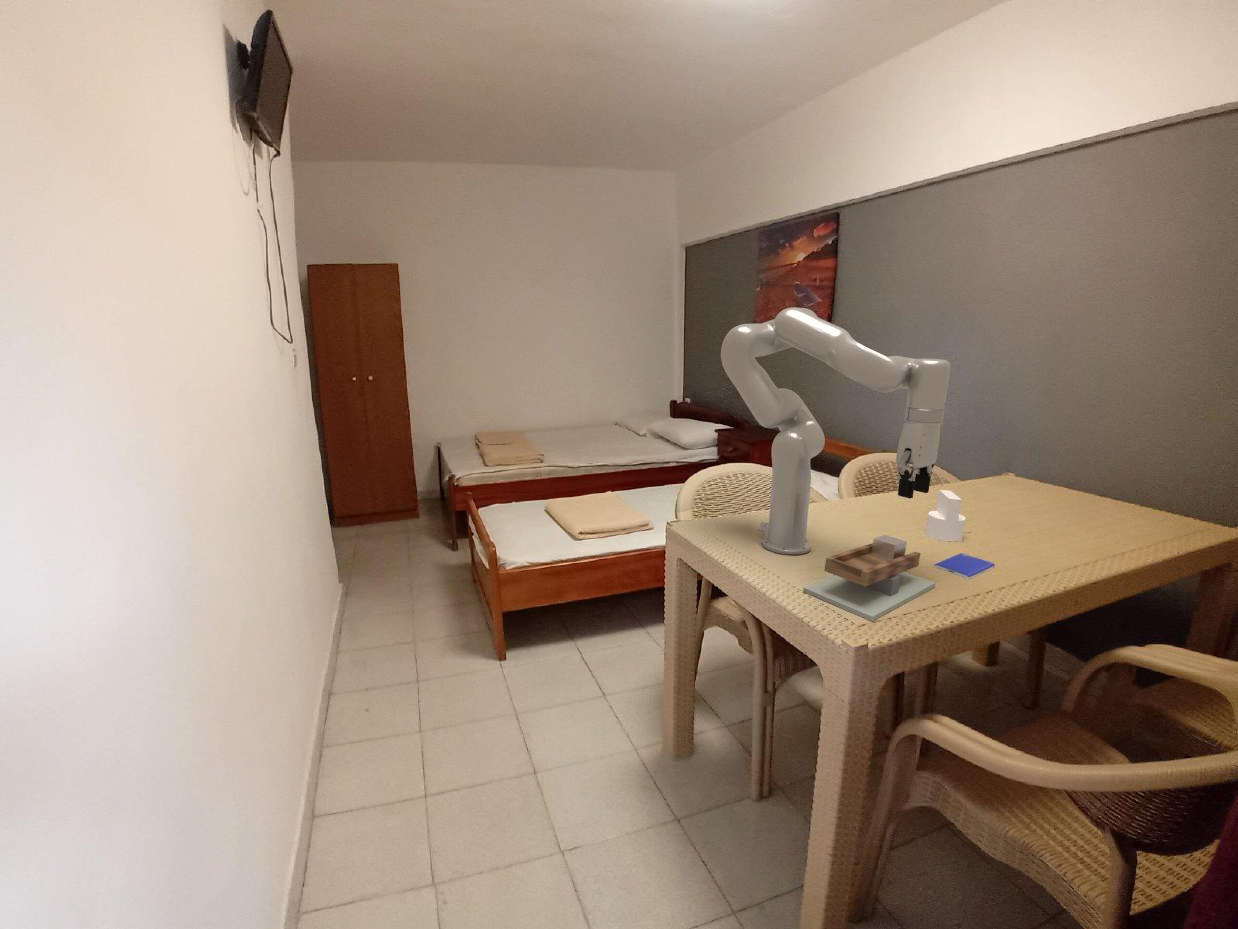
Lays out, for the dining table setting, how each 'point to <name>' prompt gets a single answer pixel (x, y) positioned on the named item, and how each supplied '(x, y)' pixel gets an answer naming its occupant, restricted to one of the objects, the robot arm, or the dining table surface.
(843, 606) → the beam stand
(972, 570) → the hard drive
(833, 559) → the beam
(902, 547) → the steel block
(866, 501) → the dining table surface
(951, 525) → the base with upright slab
